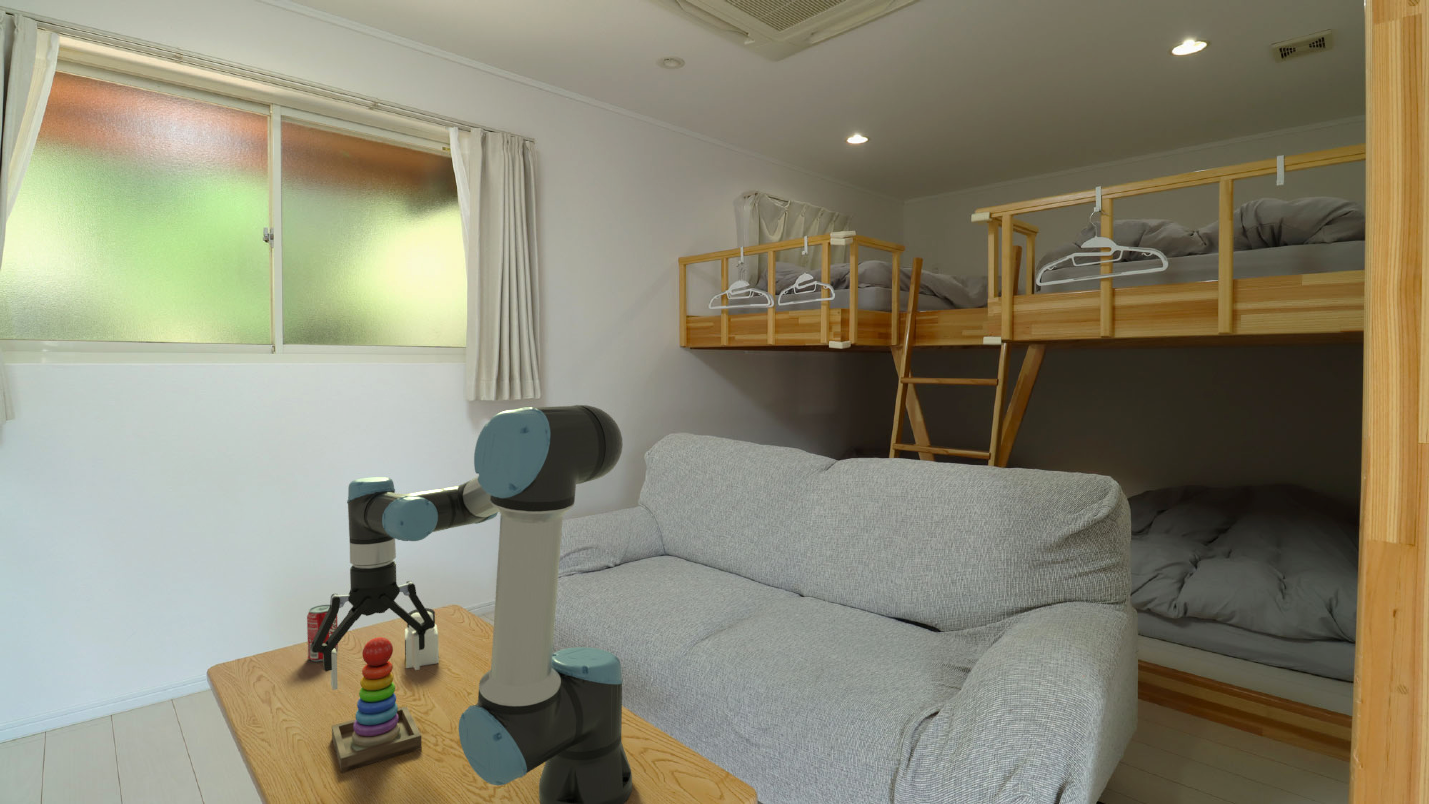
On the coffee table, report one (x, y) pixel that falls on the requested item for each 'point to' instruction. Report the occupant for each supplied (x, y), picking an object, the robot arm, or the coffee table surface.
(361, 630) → the coffee table surface
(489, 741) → the robot arm
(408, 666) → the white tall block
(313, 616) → the soda can
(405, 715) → the base tray
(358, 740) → the stacking toy
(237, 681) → the coffee table surface
